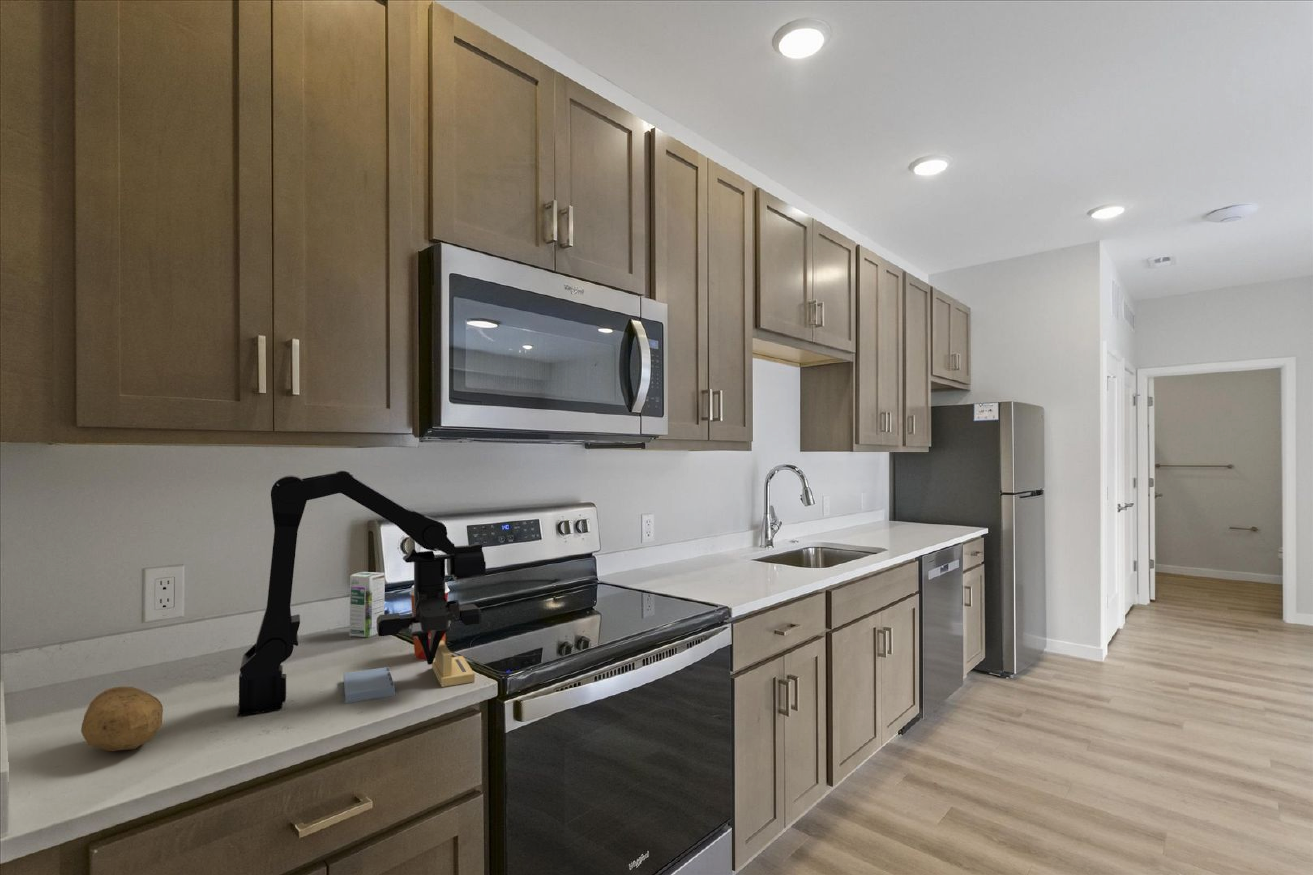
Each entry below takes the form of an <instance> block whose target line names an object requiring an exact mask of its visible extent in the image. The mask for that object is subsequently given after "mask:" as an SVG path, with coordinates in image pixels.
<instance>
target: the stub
mask: <svg viewBox="0 0 1313 875" xmlns="http://www.w3.org/2000/svg"><path fill="white" fill-rule="evenodd" d="M431 668H432V670H433V673H434V675H435V676H436V679H437V680H438V682H439V685H440V686H441V688H445V687H451V686H458V685H463V684H468V683H474V682H475V679H476V677H475V672H474V670H473V669H472V668H471V666H470V665H469V663H468V662H467V660H466V659H465V657H464V656H463V655H458V656H453V654H452V653H451V651H450V649H449V648H448V646H447V644H446V642H445V643H444V641H440V643H439V646H438V649H437V652H436V655H435V658H434V661H433V664H431Z"/></svg>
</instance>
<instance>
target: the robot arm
mask: <svg viewBox="0 0 1313 875" xmlns="http://www.w3.org/2000/svg"><path fill="white" fill-rule="evenodd" d="M337 494H342V495H344V496H345V497H347V498H349V499H351V500H353V501H355V503H358V504H360V505H361V506H363V507H365V508H366V509H368V510H370V511H372V512H373V513H375V514H376V515H378V516H380V517H382V518H383V519H385V520H387V521H389V522H390V523H392V524H394V525H395V526H396V527H397V528H399V529H400V531H402V532H403V533H404V534H405V535H406V536H408V537H409V538H410V539H411V540H412V541H413V542H415V543H416V544H417V545H418V546H419V547H421V548H423V549H424V550H425V551H416V549H415V548H413V547H412V548H410V550H409V551H408V552H407V553H406V554H405V555H404V556H402V560H403V561H404V562H405V563H406V564H407V563H413V585H414V616H412V615H411V616H403V617H402V616H401V614H400V612H393V613H387V614H386V613H384V614H383V615H379V616H378V618H377V632H378V634H377V635H378V636H377V637H388V636H395V635H398V634H399V633H400V632H401V631H402V629H403V628H408V631H409V634H410V635H411V636H412V637H413V636H417V637H418V639H419V641H420V643H421V646H422V649H423V651H424V654H425V657H426V659H425V660H426V662H427V665H428V666H429V665H431V666H432V664H433V661H434V660H435V655H436V652H437V649H438V646H439V643H440V641H441V639H442V637H443V636H444V634H445V633H448V632H451V631H452V628H451V626H450V624H452V623H451V622H458V621H460V622H461V623H462V624H464V625H465V626H471V625H479V624H481V623H482V610H481V609H479V607H478V606H477V605H475V604H474V603H472V604H471V603H470V604H462V605H460V602H459V599H454V600H448V601H447V600H446V598H445V583H446V573H447V575H448V577H452V578H453V581H461V580H472V579H473V580H474V579H482V578H484V577H485V575H486V570H487V563H486V561H485V555H484V552H483V544H481V543H473V544H467V545H455V543H454V542H452V541H451V540H450V538H449V537H448V530H447V527H446V525H445V524H444V523H443V522H441V521H440V520H438V519H435V518H434V517H432V516H428V515H426V514H423V513H421V512H418V511H415V510H412V509H410V508H407V507H405V506H403V505H402V504H400V503H399V502H397V501H395V500H393V499H391V498H390V497H388V496H387V495H384V494H383V493H381V492H380V491H378V490H377V489H374V488H373V487H371V486H370V485H368V484H367V483H365V482H363V481H362V480H360V479H358V478H356V477H355V476H354V475H353V474H352V473H351V472H349V471H346V470H339V471H338V470H337V471H336V472H332V473H328V474H321V475H316V476H315V475H314V476H310V477H304V478H301V477H299V476H296V475H285V476H282V477H280V478H278V479H277V480H276V481H275V482H274V484H273V485H272V487H271V491H270V502H271V503H270V504H271V509H272V519H273V530H274V532H273V533H274V534H273V544H272V554H271V563H270V570H269V582H268V590H267V602H266V607H265V608H266V609H265V611H264V615H263V616H262V619H261V624H260V626H259V630H258V634H257V636H256V641H255V643H254V644H253V645H252V646H251V647H250V648H249V649H248V650H246V652H245V653H244V654H243V656H242V659H241V664H240V668H239V672H240V673H239V675H238V708H237V712H236V716H237V717H240V716H242V717H243V716H246V715H252V714H260V713H266V712H272V711H278V710H281V709H282V708H283V703H285V702H286V700H287V674H286V673H283V672H284V671H283V668H284V667H283V665H281V664H282V663H284V662H286V660H288V659H289V658H290V657H291V656H292V653H293V651H294V646H296V647H298V646H299V635H298V632H299V629H300V625H301V615H300V614H299V613H298V614H294V615H292V609H291V602H292V592H293V582H294V581H293V580H294V572H295V571H294V570H295V560H296V550H297V549H296V548H297V541H298V531H299V527H300V525H301V521H302V517H303V515H304V511H305V510H306V509H305V508H306V506H307V501H311V500H316V499H320V498H324V497H327V496H328V497H329V496H332V495H337ZM436 549H437V550H439V551H440V552H441V553H443V554H434V550H436ZM419 620H420V621H419ZM429 631H431V636H430V649H429V641H428V632H429Z"/></svg>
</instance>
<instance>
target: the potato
mask: <svg viewBox="0 0 1313 875" xmlns="http://www.w3.org/2000/svg"><path fill="white" fill-rule="evenodd" d="M163 713H164V708H163V705H162V703H161V701H160V699H158V698H157V697H156V696H154V695H153V694H151V693H149V692H147V691H144V690H142V689H140V688H136V687H134V686H117V687H112V688H111V687H110V688H108V689H105V690H104V691H102V692H101V693H99V694H98V695H97V696H95V698H94V699H93V700H92V701H91V702H89V705H88V707H87V709H86V712H85V713H84V716H83V720H82V724H81V730H80V733H81V734H82V737H83V738H84V740H85V742H86V744H87V745H89V746H91V747H94V748H97V749H100V750H103V751H106V752H116V751H127V750H128V751H129V750H131V751H132V750H136V749H137V748H139V747H140V746H142V745H144V744H145V743H147V742H149V741H150V740H151V739H153V737H154V736H155V735H156V733H157V732H158V731H159V730H160V728H161V727H162V725H163V715H164V714H163Z"/></svg>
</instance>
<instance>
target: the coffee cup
mask: <svg viewBox="0 0 1313 875" xmlns="http://www.w3.org/2000/svg"><path fill="white" fill-rule="evenodd" d="M450 591H451V590H450V588H449V586H448V583H446V582H445V598H446V600H447V602H448V601H449V600H448V598H449V597H448V596H449V592H450ZM408 593H409V595H410V599H411V602H410V603H411V616H414V584H413V585H412V586H411V589H410V591H409V592H408ZM419 621H420V620H419ZM446 633H447V632H446ZM446 633H445V634H444V636H443V637H442V639H441V641H444V643H445V644H446V635H447V634H446ZM430 636H431V631H429V632H428V641H429V649H430ZM412 638H413V648H414V650H413V651H414V658H416V659H418V660H426V657H425V654H424V651H423V649H422V646H421V643H420V641H419V639H418V637H417V636H412Z"/></svg>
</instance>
